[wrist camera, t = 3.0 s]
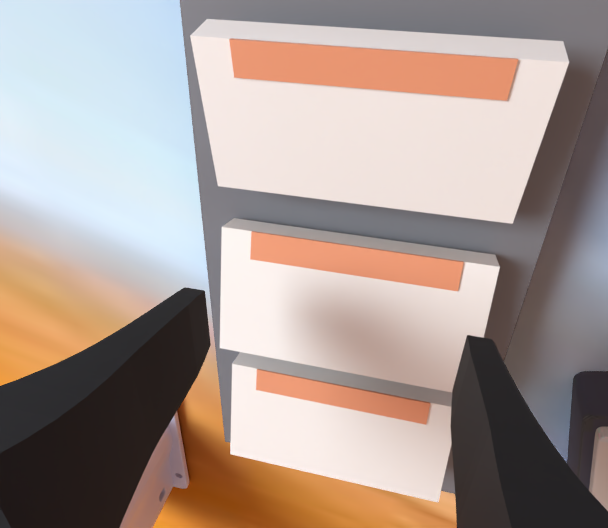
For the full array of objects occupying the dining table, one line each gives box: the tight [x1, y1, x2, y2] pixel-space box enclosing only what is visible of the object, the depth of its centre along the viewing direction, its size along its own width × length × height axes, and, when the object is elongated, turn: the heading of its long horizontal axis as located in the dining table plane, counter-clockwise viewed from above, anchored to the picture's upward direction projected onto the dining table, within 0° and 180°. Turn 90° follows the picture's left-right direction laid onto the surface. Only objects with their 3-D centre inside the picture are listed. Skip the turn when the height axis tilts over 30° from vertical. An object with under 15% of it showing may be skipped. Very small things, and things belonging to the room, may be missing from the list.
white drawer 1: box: [230, 352, 452, 502], centre depth 22 cm, size 5×9×1 cm, turn 89°
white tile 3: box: [190, 19, 569, 224], centre depth 14 cm, size 5×9×1 cm, turn 88°
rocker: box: [220, 218, 500, 392], centre depth 18 cm, size 5×9×1 cm, turn 89°
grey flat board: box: [180, 0, 608, 494], centre depth 18 cm, size 30×12×2 cm, turn 179°
